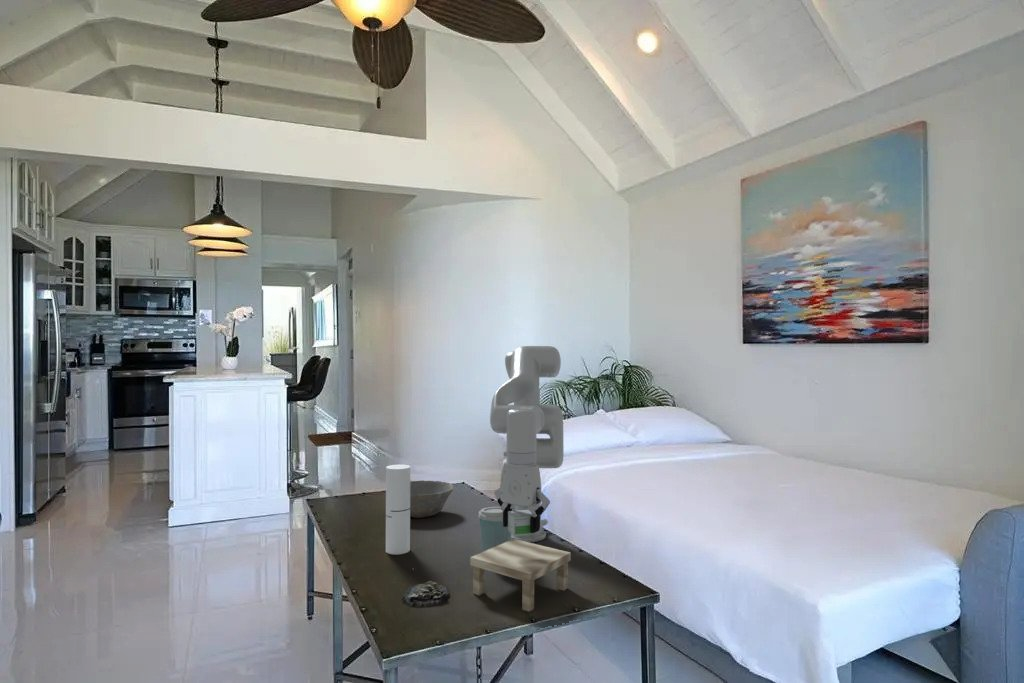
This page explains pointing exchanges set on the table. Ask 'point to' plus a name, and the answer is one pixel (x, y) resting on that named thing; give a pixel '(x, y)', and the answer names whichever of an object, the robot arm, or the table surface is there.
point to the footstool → (521, 566)
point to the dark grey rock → (425, 595)
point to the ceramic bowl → (428, 497)
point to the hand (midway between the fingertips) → (521, 528)
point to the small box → (519, 522)
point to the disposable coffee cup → (493, 528)
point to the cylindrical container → (397, 509)
